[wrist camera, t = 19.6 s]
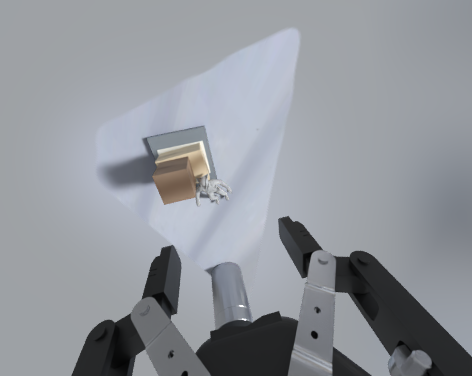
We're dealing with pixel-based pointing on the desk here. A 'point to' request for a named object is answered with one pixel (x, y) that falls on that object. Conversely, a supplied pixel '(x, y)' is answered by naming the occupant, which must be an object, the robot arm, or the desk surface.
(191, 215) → the desk surface
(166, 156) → the maple block
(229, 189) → the soldier figure
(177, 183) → the walnut cube
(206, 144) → the board
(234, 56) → the desk surface
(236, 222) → the desk surface
